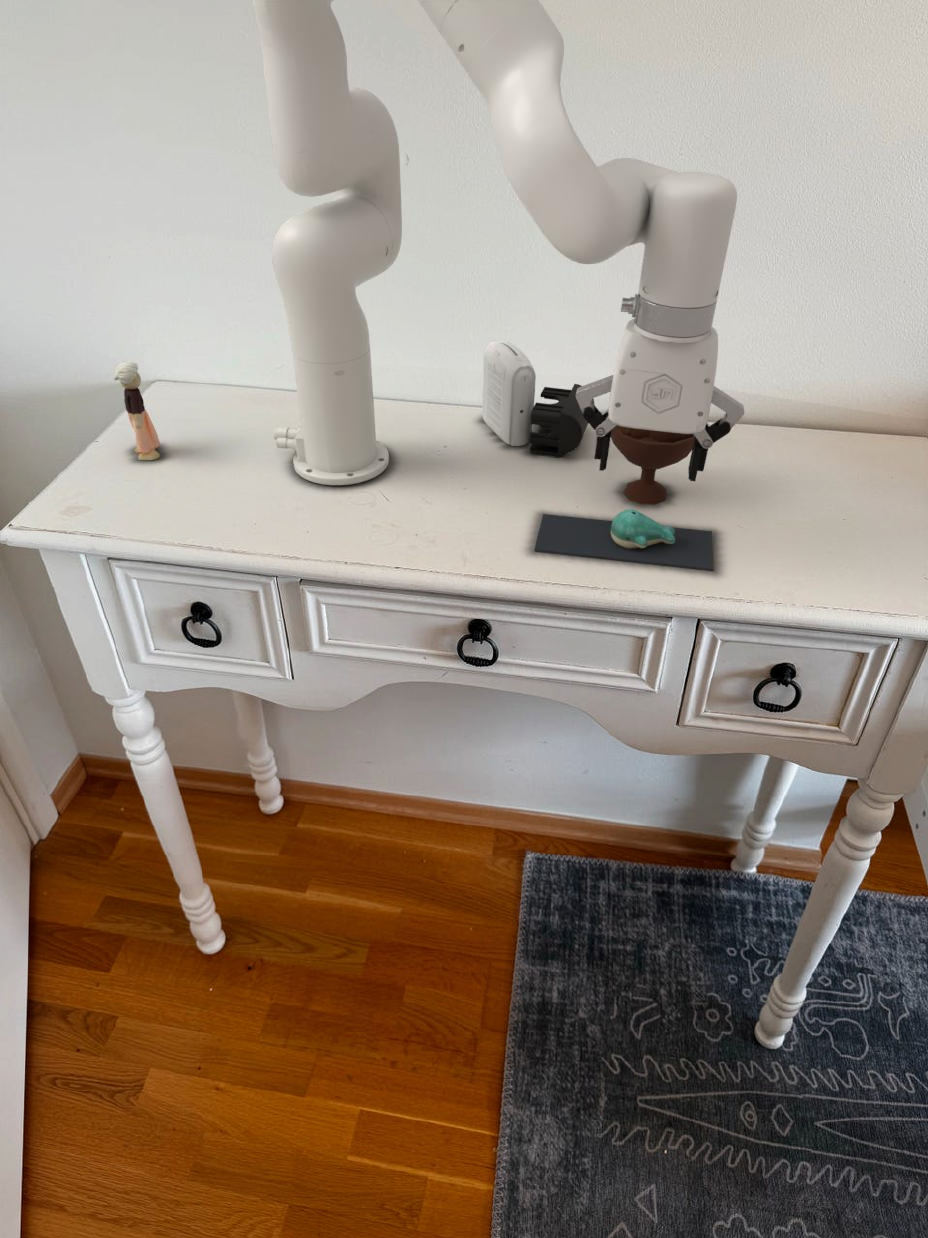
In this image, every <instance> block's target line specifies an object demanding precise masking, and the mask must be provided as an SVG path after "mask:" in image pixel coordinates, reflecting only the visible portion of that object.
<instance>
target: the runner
mask: <svg viewBox="0 0 928 1238" xmlns="http://www.w3.org/2000/svg"><path fill="white" fill-rule="evenodd" d="M612 522H613V520H606V519H597V518H587V517H586V518H585V517H577V516H565V515H557V514H549V513H548V514H547V513H543V514H542V517H541V521H540V524H539V525H540V526H539V530H538V533H537V537H536V542H535V546H534V549H533V550H534V552H537V553H546V554H553V555H554V554H556V555H565V556H573V557H581V558H592V559H602V560H608V561H609V560H610V561H619V562H629V563H635V564H636V563H638V564H645V565H654V566H664V567H673V568H684V569H693V570H701V571H711V572H714V553H713V552H714V548H713V531H712V530H704V529H703V530H702V529H693V528H685V527H684V528H683V527H674V526H672V527H673V528H674V529H675V533H674V535H673V536H674V537H675V543H673V544H666V543H664V542H659V543H657V544H653V545H650V546H646V547H645V548H639V547H638V548H625V547H622V546H620V545H618V544H617V543H616V542H615V541H614V540H613V539H612V536H611V525H612ZM662 526H663V527H666V526H664V525H662Z"/></svg>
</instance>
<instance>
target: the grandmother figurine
mask: <svg viewBox="0 0 928 1238" xmlns="http://www.w3.org/2000/svg"><path fill="white" fill-rule="evenodd" d="M138 371H139V366H138V364H137V363H135V362H134V361H123V362H121V363H119V364H118V365H117V367H116V368H115V370H114V372H113V376H112V378H113V380H114V381H119V382H120V384H121V386H122V387H123V388H124V390H123V395H124V396H123V397H124V399H123V400H124V401H123V402H124V405H125V410H126V412H127V416H128V419H129V422H130V425H131V427H132V428H133V430H134V434H135V443H136V447H135V450H134V452H135V453H136V454H137V455H138V456H137V457H138V458H137V459H138V460H139V461H155V460H158V459H159V458H160V453H159V452H158V451H157V448H158V447H160V445H161V441H160V438H159V436H158V433H157V430H156V429H155V425H154V424H153V422H152V421H153V420H152V419H151V417H150V415H149V413H148V411H147V410H146V408H145V407H146V406H145V402H144V398H143V396H142V394H141V390H140V389H139V387H140V385H141V383H142V377H141V375H140V374H139V372H138Z"/></svg>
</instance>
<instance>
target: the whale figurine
mask: <svg viewBox="0 0 928 1238" xmlns="http://www.w3.org/2000/svg"><path fill="white" fill-rule="evenodd" d="M612 521H613V522H612V525H611V536H612V539H613V540H614V541H615V542H616V543H617V544H618V545H620V546H622V547H625V548H638V547H639V548H645V547H646V546H650V545H653V544H657V543H659V542H664V543H666V544H673V543H675V537H674V536H673V535H674V533H675V529H674V528H673V527H674V526H670V525H666V526H665V527H663V526H664V525H661V524H660V523H659V522H657V521H656V520H654V519H653V518H651V517H649V515H645V514H644V513H643V512H641V511H639V510H637V509H633V508H629V509H624V510H622V511H620V512H618V514H616V516H615V517H613V520H612Z"/></svg>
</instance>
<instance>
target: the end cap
mask: <svg viewBox="0 0 928 1238" xmlns="http://www.w3.org/2000/svg"><path fill="white" fill-rule="evenodd" d="M581 386H582V384H579V383H574V384H573V386H572V388H571V389H569V388H567V389H566V388H559V387H557V388H556V387H549V386H544V387H543V389H542V391H541V393H540V398H543V399H546V400H551V401H552V400H554V401H558V402H555V403H545V402H544V403H543V402H534V407H533V409H532V411H531V421H530V424H533V426H538V427H539V430H538V431H537V432H536V431H535V432H534V431H532V432H530V440H529V442H528V443H529V445H530V444H531V445H530V447H529V453H530V454H532V455H538V456H545V457H550V458H551V457H553V458H563V457H565V456H567V455H568V454H570V453H572V452H575V450H577V449H578V447H580V444H581V443H582V440H583V437H584V436H585V433H586V431H587V428H588V426H589V425H590V424H589V423H588V422H587V421H586V420H585V418H584V417H583V412H582V410H581V409H580V406H579V404H578V401H577V399H576V392H577V389H578V388H579V387H581ZM592 402H593V404H594V405H595V398H593V399H592Z"/></svg>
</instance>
